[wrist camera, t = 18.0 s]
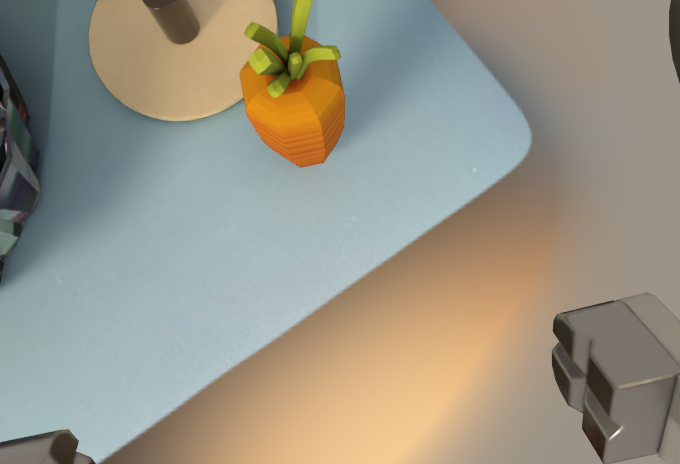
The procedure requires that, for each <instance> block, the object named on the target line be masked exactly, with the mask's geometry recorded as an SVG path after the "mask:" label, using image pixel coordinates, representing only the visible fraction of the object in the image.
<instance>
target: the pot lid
mask: <svg viewBox="0 0 680 464" xmlns="http://www.w3.org/2000/svg"><path fill="white" fill-rule="evenodd" d="M251 22H255V23H257V24H259V25H262V26H264V27H266V28H267V29H269V30H270V31H272V32H273V33H275V34H276V35H277V37H278V18H277V11H276V7H275V4H274V1H273V0H98V1H97V3H96V5H95V8H94V10H93V13H92V16H91V21H90V26H89V37H88V39H89V51H90V55H91V60H92V63H93V66H94V68H95V71H96V73H97V75H98V76H99V78H100V80H101V82H102V83H103V84H104V85H105V87H106V88H107V89H108V91H109V92H111V93H112V94H113V95H114V96H115V97H116V98H117V99H118V100H119V101H120V102H121V103H123V104H124V105H126V106H127V107H128V108H130V109H132V110H134V111H136V112H138V113H140V114H143V115H145V116H148V117H151V118H156V119H160V120H168V121H188V120H195V119H201V118H204V117H207V116H211V115H214V114H216V113H218V112H221V111H223V110H225V109H227V108H229V107H230V106H232V105H234V104H235V103H237V102H238V101H239V100H241V99H242V98H243V92H242V87H241V81H240V76H239V74H240V70H241V69H242V68H243V66H244V65H245V64H246V62H247V61H248V58H249V57H250V56H251V55H252V53H254V51H255V50H256V49H257V47H258V46H259V44H260V43H258V42H255V41H253V40H252V39H250V38H248V37H246V36H245V35H244V32H245V30H246V28H247V26H248V25H249V24H250V23H251Z"/></svg>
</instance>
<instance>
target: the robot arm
mask: <svg viewBox="0 0 680 464" xmlns="http://www.w3.org/2000/svg"><path fill="white" fill-rule="evenodd" d="M553 332H554V334H555V335H556V337H557V338H558V340H559V343H558V344H557V345H556V346H555V347H554V349H553V350H552V367H553V371H554V375H555V380H556V382H557V385H558V387H559V389H560V391H561V393H562V395H563V397H564V399H565V400H566V402H567V404H568V405H569V406H570V407H572V408H574V409H576V410H577V411H579V412H581V413H583V423H582V429H583V431H584V432H585V434H586V436H587V437H588V439H589V441H590V442H591V444H592V446H593V447H594V449H595V451H596V452H597V454H598V456H599V457H600V459H601V461H602V462H603V464H610V463H614V462H619V461H624V460H629V459H635V458H639V457H644V456H649V455H654V454H659V455H658V457H659V458H661V459H662V460H664V461H665V462H667V463H668V464H680V321H679V320H678V318H677V317H676V316H675V315H673V313H672V312H671V311H670V310H669V309H668V308H667V307H666V306H665V305H664V304H663V303H662V302H661V301H660V300H659V299H658V298H657V297H656V296H654V295H652V294H650V293H643V294H639V295H636V296H631V297H627V298H623V299H618V300H616V301H609V302H605V303H601V304H596V305H592V306H588V307H584V308H580V309H576V310H572V311H568V312H564V313H560V314H557V315H556V317H555V319H554V324H553ZM78 442H79V441H78V440H77V439H76V437H75V436H74V435H73V434H72V433H71V432H70V430H69V429H68V430H58V431H53V432H48V433H43V434H38V435H34V436H29V437H24V438H19V439H14V440H9V441H4V442H1V443H0V464H95V462H94V461H93V460H92V458H91V457H89V456H86V455H84V454H81V453H79V452H76V449H77V446H78Z"/></svg>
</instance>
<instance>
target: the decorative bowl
mask: <svg viewBox="0 0 680 464" xmlns="http://www.w3.org/2000/svg"><path fill="white" fill-rule="evenodd" d="M29 118H30V117H29V114H28V110H27V107H26V103H25V101H24V99H23V97H22V95H21V93H20V91H19V89H18V87H17V85H16V83H15V81H14V79H13V77H12V75H11V73H10V72H9V70H8V68H7V66H6V64H5V62H4V60H3V58H2V56H1V54H0V282H1V276H2V271H3V265H4V263H3V259H2V258H3V257H5V256H7V255H9V254H11V253H12V251H13V249H14V247H15V245H16V243H17V241H18V239H19V236H20V233H21V230H22V227H23V221H24V220H25V219H26V218H27V217H28V216H30V215H31V214H32V213H33V211H34V209H35V208H36V206H37V203H38V199H39V196H40V183H39V181H38V180H37V178H36V176H35V175H34V172H35V171H36V170H37V167H38V159H39V150H38V148H37V146H36V144H35V142H34V140H33V137H32V135H31V133H30V132H29V130H28V128H27V124H28V121H29Z"/></svg>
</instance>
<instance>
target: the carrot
mask: <svg viewBox="0 0 680 464" xmlns="http://www.w3.org/2000/svg"><path fill="white" fill-rule="evenodd" d="M311 2H312V0H294V4H293V10H292V19H291V31H290V35H287V36H282V37H277V35H276V34H275V33H273V32H272V31H270V30H269V29H267V28H266V27H264V26H262V25H259V24H257V23H255V22H251V23H250V24H249V25H248V26H247V28H246V30H245V32H244V35H245V36H246V37H248V38H250V39H252V40H253V41H255V42H258V43H260V44H259V46H258V47H257V49H256V50H255V51H254V53H252V55H251V56H250V57H249V58H248V61H247V62H246V64H245V65H244V66H243V68H242V69H241V70H240V74H239V76H240V81H241V87H242V92H243V98H244V103H245V109H246V114H247V117H248V118H249V120H250V122H251V123H252V125H253V127H254V128H255V130H256V132H257V133H258V134H259V136H260V137H261V139H262V140H263V142H264V143H265V144H266V145H268V146H269V147H270V148H271V149H272V150H274V151H275V152H277V153H278V154H280V155H281V156H283V157H284V158H286V159H288V160H289V161H291V162H292V163H294V164H296V165H297V166H299V167H300V168H301V167H306V166H310V165H315V164H320V163H324V161H325V160H326V158H327V157H328V155H329V154H330V152H331V151H332V150H333V148H334V147H335V145H336V144H337V142H338V140H339V138H340V136H341V133H342V130H343V128H344V118H345V95H344V90H343V86H342V81H341V77H340V72H339V68H338V63H337V59H340V57H341V56H340V52H339V50H338V49H337V47H336V46H322V45H320V44H319V43H317V42H315V41H314V40H312V39H310V38H309V37H307V36H305V35H304V34H305V29H306V24H307V20H308V15H309V11H310V7H311Z"/></svg>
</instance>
